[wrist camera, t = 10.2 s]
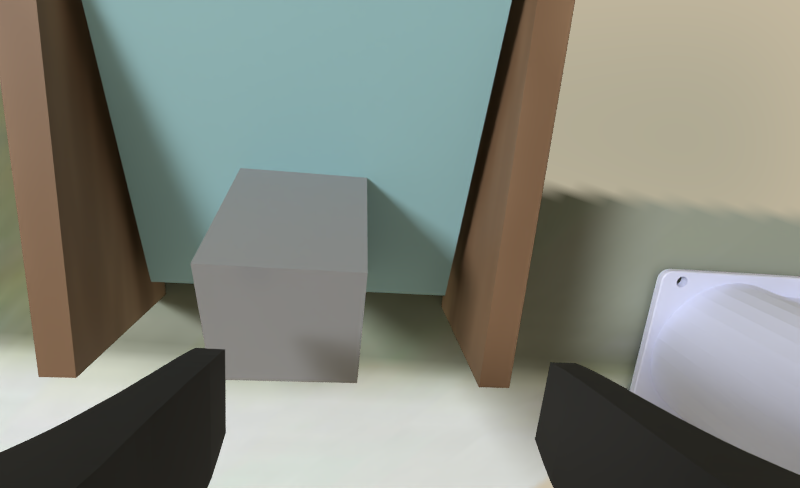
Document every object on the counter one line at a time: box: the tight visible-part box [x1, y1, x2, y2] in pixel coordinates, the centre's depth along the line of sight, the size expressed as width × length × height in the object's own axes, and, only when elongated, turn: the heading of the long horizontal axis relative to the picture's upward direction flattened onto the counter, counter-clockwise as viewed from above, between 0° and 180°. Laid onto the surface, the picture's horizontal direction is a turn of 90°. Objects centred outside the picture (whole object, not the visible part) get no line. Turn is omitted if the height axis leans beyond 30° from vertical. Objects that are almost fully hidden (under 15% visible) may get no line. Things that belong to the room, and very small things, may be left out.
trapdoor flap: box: [82, 0, 512, 296], centre depth 14 cm, size 11×17×4 cm, turn 175°
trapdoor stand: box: [0, 0, 575, 388], centre depth 15 cm, size 14×14×6 cm
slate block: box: [190, 168, 368, 383], centre depth 14 cm, size 4×4×5 cm
